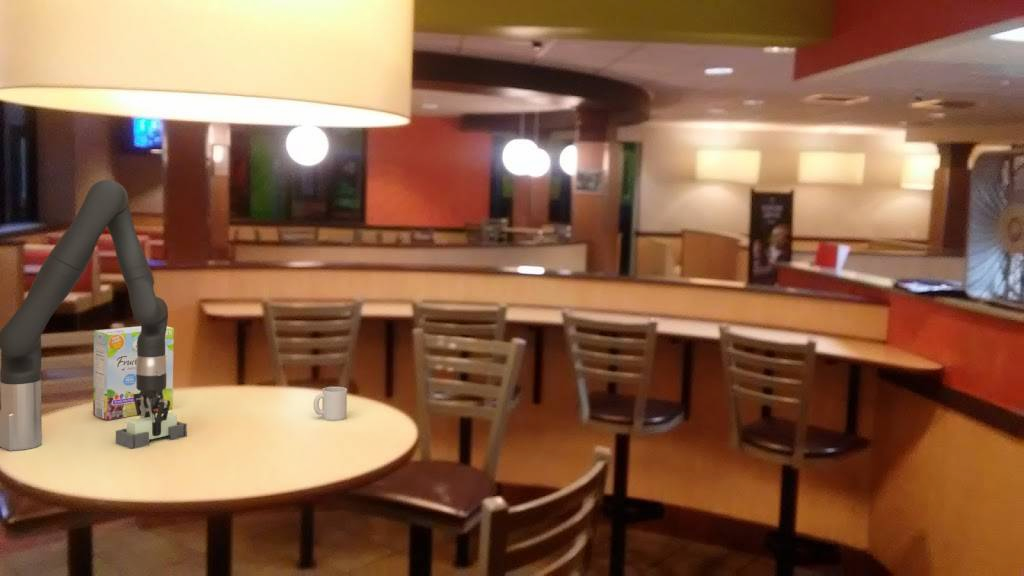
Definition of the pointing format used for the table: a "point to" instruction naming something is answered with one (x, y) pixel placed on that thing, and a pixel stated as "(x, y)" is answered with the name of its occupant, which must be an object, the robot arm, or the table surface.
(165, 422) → the slat
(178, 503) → the table surface
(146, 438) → the end cap
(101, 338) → the snack box
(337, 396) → the cup
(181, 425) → the end cap
